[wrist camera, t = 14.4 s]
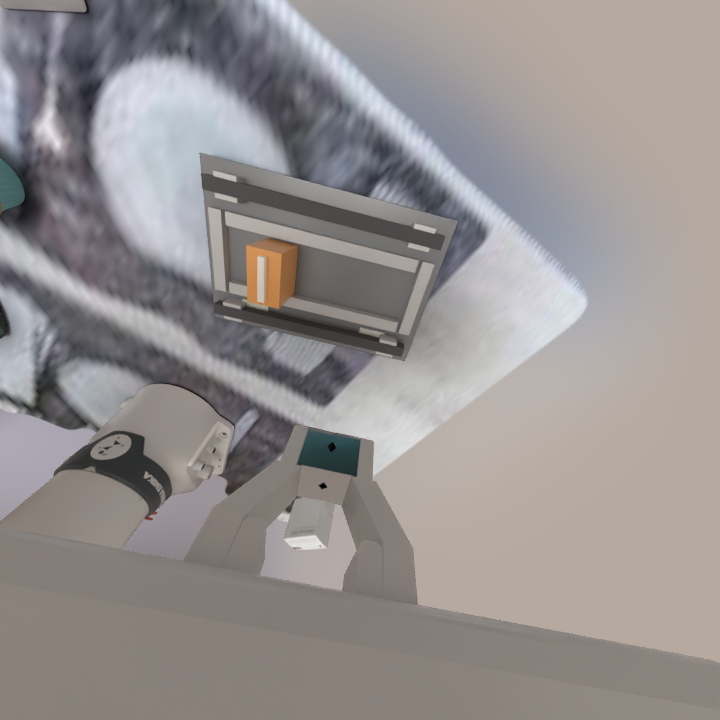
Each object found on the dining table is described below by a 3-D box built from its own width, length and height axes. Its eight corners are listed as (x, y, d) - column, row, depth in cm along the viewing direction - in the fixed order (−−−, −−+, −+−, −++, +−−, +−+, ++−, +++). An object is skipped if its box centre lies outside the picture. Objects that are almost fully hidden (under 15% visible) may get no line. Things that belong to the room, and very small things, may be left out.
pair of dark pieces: (400, 352, 31) (401, 357, 30) (220, 309, 30) (214, 313, 29) (443, 235, 24) (445, 236, 23) (209, 174, 23) (201, 172, 22)
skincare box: (330, 463, 48) (316, 534, 37) (340, 477, 50) (329, 548, 40) (302, 468, 49) (280, 538, 39) (313, 482, 51) (295, 552, 41)
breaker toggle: (294, 292, 28) (276, 311, 24) (267, 286, 28) (244, 303, 23) (298, 245, 26) (279, 255, 21) (269, 237, 26) (242, 246, 21)
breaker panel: (403, 353, 34) (405, 368, 31) (223, 310, 33) (207, 322, 30) (453, 219, 25) (462, 222, 22) (212, 156, 24) (187, 149, 21)
